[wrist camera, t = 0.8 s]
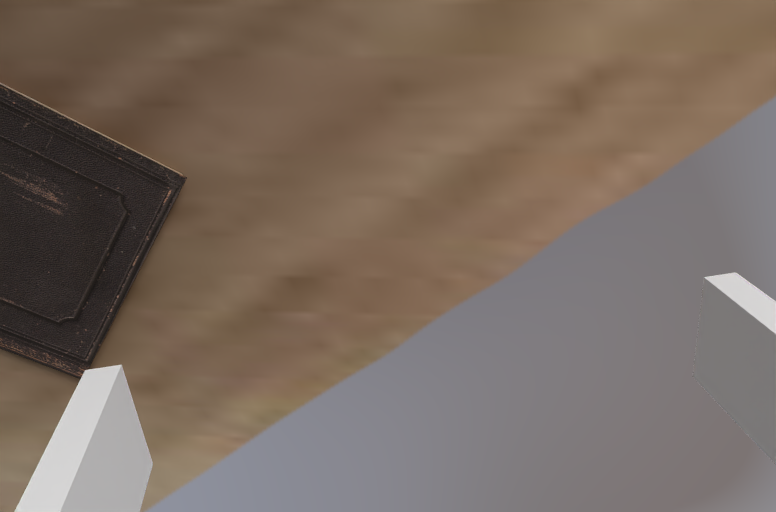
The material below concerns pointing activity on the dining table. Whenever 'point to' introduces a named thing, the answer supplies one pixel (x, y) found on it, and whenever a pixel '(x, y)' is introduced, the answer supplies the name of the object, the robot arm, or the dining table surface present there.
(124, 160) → the hardcover book
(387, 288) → the dining table surface
